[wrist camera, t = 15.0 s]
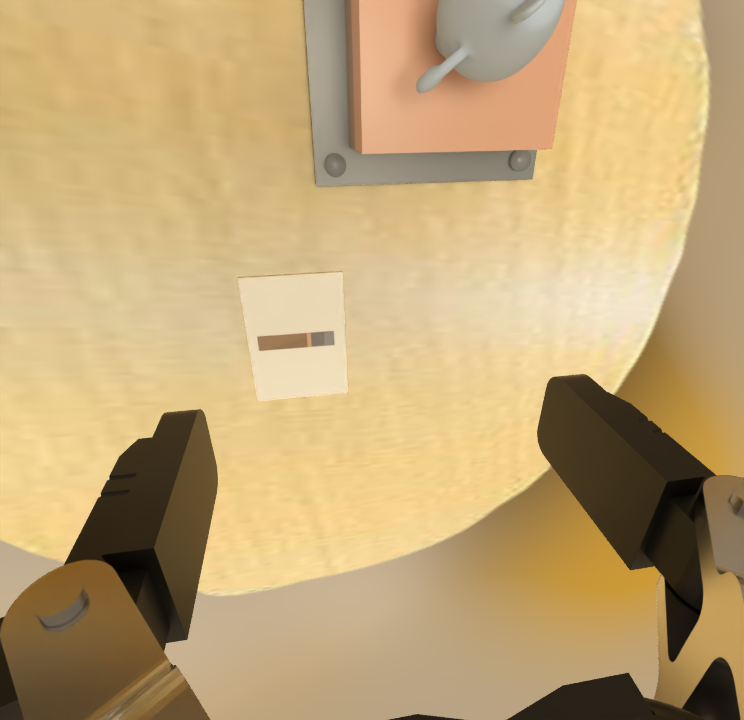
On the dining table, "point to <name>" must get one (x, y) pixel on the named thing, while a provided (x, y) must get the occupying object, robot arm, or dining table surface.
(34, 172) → the dining table surface
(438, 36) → the toy figure
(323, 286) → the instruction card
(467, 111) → the orange square pedestal
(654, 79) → the dining table surface
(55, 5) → the dining table surface
